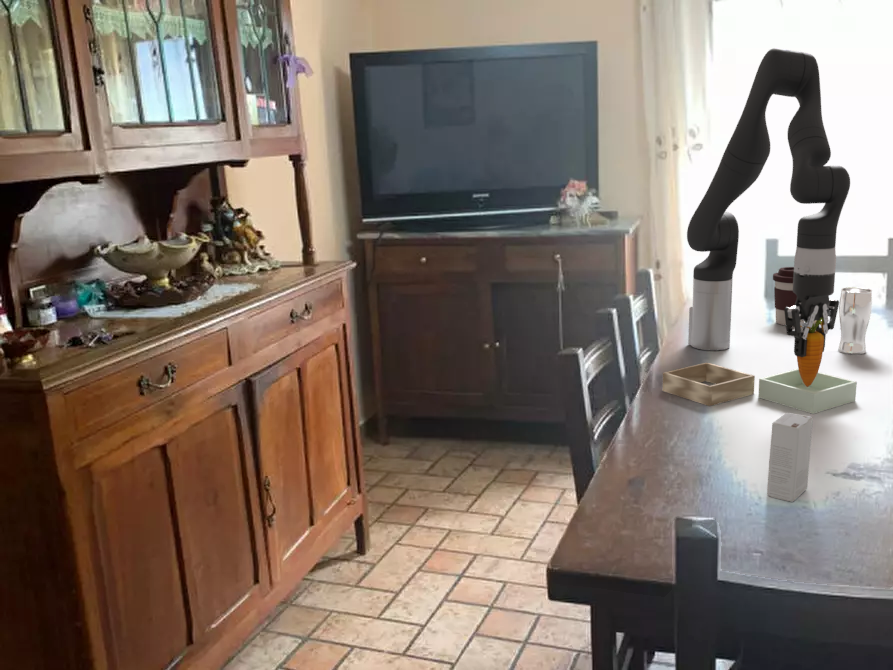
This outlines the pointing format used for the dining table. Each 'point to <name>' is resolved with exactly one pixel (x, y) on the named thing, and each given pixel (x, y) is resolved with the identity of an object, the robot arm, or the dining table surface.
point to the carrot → (811, 355)
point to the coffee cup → (784, 292)
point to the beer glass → (854, 319)
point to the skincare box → (789, 456)
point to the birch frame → (724, 390)
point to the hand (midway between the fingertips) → (809, 353)
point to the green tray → (807, 391)
